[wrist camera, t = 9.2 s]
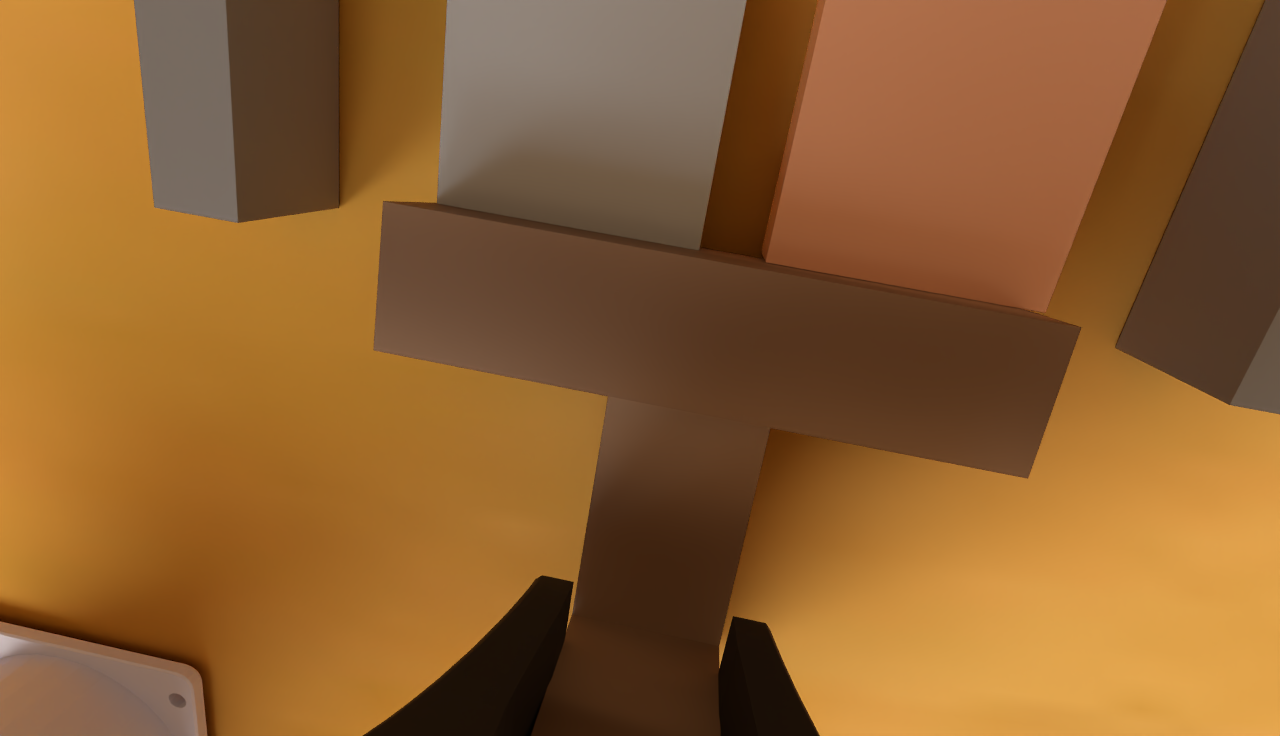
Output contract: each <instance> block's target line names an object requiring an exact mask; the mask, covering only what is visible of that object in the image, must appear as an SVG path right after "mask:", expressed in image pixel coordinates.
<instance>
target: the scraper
mask: <svg viewBox="0 0 1280 736" xmlns="http://www.w3.org/2000/svg"><path fill="white" fill-rule="evenodd" d="M1080 330H1081V327H1078V326H1075V325H1072V324H1068V323H1065V322H1062V321H1059V320H1056V319H1053V318H1049V317H1046V316H1043V315H1040V314H1037V313H1033V312H1030V311H1027V310H1024V309H1021V308H1015V307H1010V306H1004V305H999V304H993V303H988V302H982V301H977V300H971V299H966V298H960V297H955V296H949V295H944V294H938V293H933V292H927V291H921V290H916V289H910V288H905V287H899V286H894V285H888V284H883V283H877V282H872V281H866V280H861V279H855V278H850V277H844V276H839V275H833V274H827V273H822V272H816V271H811V270H805V269H800V268H794V267H789V266H783V265H778V264H772V263H767V262H765V260H764V259H762V258H756V257H750V256H745V255H739V254H734V253H728V252H723V251H717V250H711V249H706V248H699V250H693V249H688V248H682V247H676V246H671V245H665V244H660V243H654V242H649V241H643V240H637V239H632V238H626V237H621V236H615V235H610V234H604V233H599V232H593V231H587V230H582V229H576V228H571V227H565V226H560V225H554V224H548V223H543V222H537V221H532V220H526V219H521V218H515V217H509V216H504V215H498V214H493V213H487V212H482V211H476V210H470V209H465V208H459V207H454V206H448V205H443V204H437V203H423V202H388V201H383V212H382V228H381V243H380V259H379V274H378V290H377V305H376V321H375V336H374V350H375V351H380V352H385V353H390V354H395V355H400V356H405V357H410V358H416V359H421V360H426V361H431V362H436V363H441V364H446V365H451V366H456V367H461V368H467V369H472V370H477V371H482V372H487V373H492V374H497V375H502V376H507V377H512V378H518V379H523V380H528V381H533V382H538V383H543V384H548V385H553V386H558V387H564V388H569V389H574V390H579V391H584V392H589V393H594V394H599V395H604V396H608V401H607V407H606V413H605V419H604V425H603V431H602V437H601V443H600V449H599V455H598V461H597V467H596V474H595V480H594V486H593V492H592V498H591V504H590V510H589V516H588V522H587V528H586V534H585V540H584V546H583V553H582V559H581V565H580V571H579V577H578V583H577V589H576V595H575V601H574V607H573V613H572V617H571V620H570V623H569V625H568V628H567V631H566V635H565V641H564V644H563V647H562V650H561V653H560V656H559V659H558V661H557V664H556V667H555V670H554V673H553V676H552V679H551V681H550V683H549V685H548V687H547V690H546V693H545V696H544V699H543V702H542V705H541V707H540V710H539V713H538V716H537V719H536V722H535V725H534V728H533V731H532V734H531V736H721V727H720V719H719V690H718V673H719V644H720V639H721V635H722V631H723V627H724V623H725V618H726V614H727V610H728V606H729V601H730V597H731V593H732V589H733V584H734V580H735V576H736V572H737V567H738V563H739V559H740V555H741V551H742V546H743V542H744V538H745V534H746V529H747V525H748V521H749V517H750V512H751V508H752V504H753V500H754V495H755V491H756V487H757V483H758V479H759V474H760V470H761V466H762V462H763V457H764V453H765V449H766V445H767V440H768V436H769V432H770V428H773V429H778V430H783V431H788V432H793V433H798V434H803V435H809V436H814V437H819V438H824V439H829V440H834V441H839V442H844V443H849V444H854V445H860V446H865V447H870V448H875V449H880V450H885V451H890V452H895V453H900V454H906V455H911V456H916V457H921V458H926V459H931V460H936V461H941V462H946V463H951V464H957V465H962V466H967V467H972V468H977V469H982V470H987V471H992V472H997V473H1002V474H1008V475H1013V476H1018V477H1023V478H1028V477H1029V474H1030V471H1031V468H1032V465H1033V463H1034V460H1035V457H1036V454H1037V451H1038V449H1039V446H1040V443H1041V440H1042V437H1043V434H1044V432H1045V429H1046V426H1047V423H1048V420H1049V417H1050V415H1051V412H1052V409H1053V406H1054V403H1055V400H1056V398H1057V395H1058V392H1059V389H1060V386H1061V384H1062V381H1063V378H1064V375H1065V372H1066V369H1067V367H1068V364H1069V361H1070V358H1071V355H1072V352H1073V350H1074V347H1075V344H1076V341H1077V338H1078V335H1079V333H1080Z"/></svg>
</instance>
